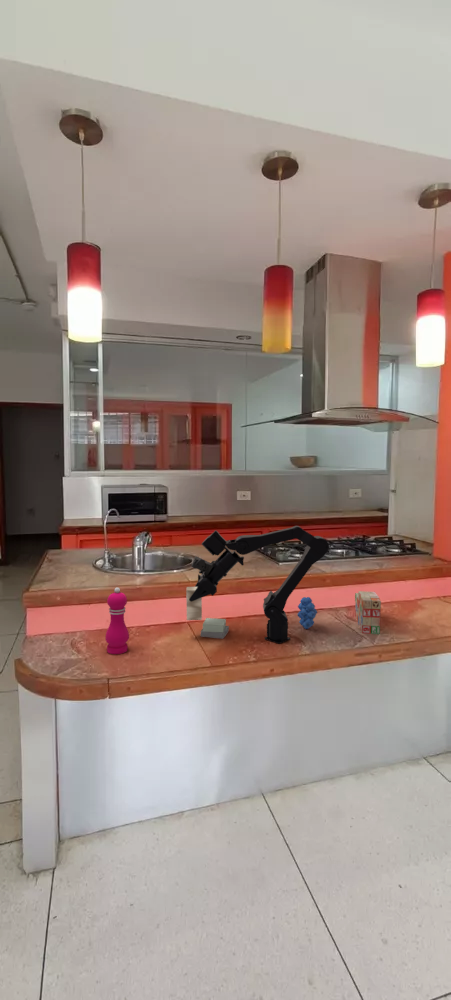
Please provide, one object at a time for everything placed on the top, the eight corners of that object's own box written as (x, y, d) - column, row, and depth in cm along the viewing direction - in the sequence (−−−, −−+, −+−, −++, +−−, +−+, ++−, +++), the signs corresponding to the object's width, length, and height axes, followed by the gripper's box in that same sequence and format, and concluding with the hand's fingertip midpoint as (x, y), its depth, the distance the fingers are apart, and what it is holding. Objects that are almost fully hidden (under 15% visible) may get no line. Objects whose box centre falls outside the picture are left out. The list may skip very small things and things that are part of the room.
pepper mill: (109, 646, 150) (108, 584, 149) (131, 646, 150) (131, 585, 149) (102, 654, 143) (102, 590, 142) (125, 655, 142) (125, 590, 141)
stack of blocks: (354, 615, 186) (355, 585, 185) (370, 616, 185) (371, 585, 184) (361, 633, 165) (362, 599, 164) (380, 634, 164) (381, 600, 163)
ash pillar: (201, 615, 160) (201, 586, 159) (201, 619, 155) (201, 590, 154) (187, 615, 159) (186, 586, 159) (186, 620, 154) (186, 590, 154)
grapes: (324, 633, 164) (325, 599, 164) (306, 634, 163) (307, 600, 162) (310, 623, 176) (310, 591, 175) (293, 624, 174) (294, 592, 173)
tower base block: (228, 632, 166) (228, 626, 166) (223, 640, 158) (223, 633, 158) (207, 630, 168) (207, 623, 168) (200, 638, 160) (200, 631, 160)
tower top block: (225, 625, 166) (225, 619, 165) (223, 632, 159) (223, 625, 158) (206, 624, 166) (206, 617, 166) (202, 631, 159) (202, 624, 159)
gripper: (205, 544, 165) (174, 576, 165) (205, 553, 147) (171, 588, 147) (227, 566, 166) (196, 597, 166) (231, 577, 147) (196, 612, 147)
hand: (190, 598), depth 157 cm, fingers closed on ash pillar, 5 cm apart
